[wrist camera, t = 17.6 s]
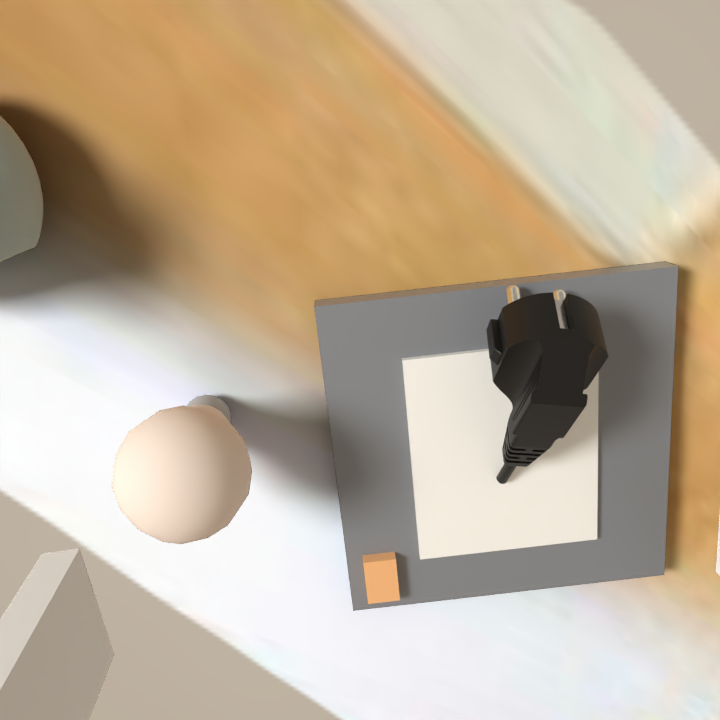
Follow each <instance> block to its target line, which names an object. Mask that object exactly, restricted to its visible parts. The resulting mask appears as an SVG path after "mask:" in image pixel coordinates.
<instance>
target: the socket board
mask: <svg viewBox="0 0 720 720" xmlns="http://www.w3.org/2000/svg"><path fill="white" fill-rule="evenodd" d="M677 284H678V266H676V265H673V264H671V263H668V262H666V261H665V262H656V263H647V264H638V265H629V266H620V267H611V268H602V269H593V270H584V271H575V272H566V273H557V274H548V275H539V276H530V277H521V278H512V279H503V280H494V281H485V282H476V283H467V284H458V285H449V286H440V287H431V288H422V289H413V290H404V291H395V292H386V293H377V294H368V295H359V296H350V297H341V298H332V299H323V300H315V306H314V307H315V315H316V323H317V331H318V339H319V346H320V354H321V362H322V370H323V378H324V385H325V393H326V401H327V409H328V417H329V424H330V432H331V440H332V448H333V456H334V463H335V471H336V479H337V487H338V495H339V502H340V510H341V518H342V526H343V534H344V541H345V549H346V557H347V565H348V573H349V580H350V588H351V596H352V604H353V611H355V610H363V609H372V608H381V607H389V606H398V605H407V604H416V603H424V602H433V601H442V600H450V599H459V598H468V597H476V596H485V595H494V594H502V593H511V592H520V591H528V590H537V589H546V588H554V587H563V586H572V585H581V584H589V583H598V582H607V581H615V580H624V579H633V578H641V577H650V576H659V575H664V569H665V547H666V525H667V503H668V481H669V459H670V437H671V415H672V393H673V372H674V350H675V328H676V306H677ZM511 285H515V286H517V287H518V288H519V289H520V294H521V298H523V297H526V296H529V295H534V294H539V293H550V292H554V291H555V290H557V289H562V290H564V291H565V292H566V295H567V294H572V295H576V296H578V297H581V298H583V299H585V300H587V301H588V302H590V303H591V304H592V305H593V306H594V307H595V309H596V310H597V312H598V315H599V319H600V323H601V327H602V331H603V335H604V340H605V344H606V348H607V352H608V356H609V357H608V358H607V360H606V361H605V363H604V364H603V366H602V367H601V369H600V370H599V372H598V373H597V375H596V376H595V378H594V379H593V380H592V382H591V383H590V385H589V386H588V388H587V389H585V390H583V394H587V395H588V399H587V405H586V407H585V408H584V410H583V411H582V412H581V414H580V415H579V417H578V418H577V420H576V421H575V422H574V424H573V425H572V427H571V428H570V430H569V431H568V432H567V434H566V435H565V437H564V438H558V439H557V440H555V442H554V443H553V445H552V446H551V448H550V449H548V450H547V451H546V452H545V453H543V454H542V455H541V456H540V457H538V458H537V459H536V460H535V461H533V462H532V463H531V464H530V465H529V466H527V467H521V466H516V468H515V470H514V471H513V473H512V474H511V476H510V478H509V479H508V481H507V482H506V483H505V484H500V483H499V482H498V481H497V479H496V477H497V475H498V473H499V472H500V470H501V468H502V467H503V465H504V461H503V453H502V447H503V444H504V438H505V433H506V429H507V424H508V419H509V416H510V413H511V412H512V409H513V406H512V403H511V401H510V400H509V399H508V397H507V396H506V395H505V394H504V393H503V392H502V391H500V390H499V389H498V387H497V386H496V385H495V384H494V382H493V378H492V369H491V360H490V358H489V349H488V340H487V331H486V329H487V327H488V324H489V322H490V319H497V320H498V317H499V315H500V312H501V310H502V308H503V307H504V306H506V305H507V300H506V293H505V292H506V289H507V287H509V286H511Z"/></svg>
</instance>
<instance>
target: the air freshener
mask: <svg viewBox="0 0 720 720" xmlns="http://www.w3.org/2000/svg"><path fill="white" fill-rule="evenodd" d="M42 221H43V195H42V190H41V184H40V179H39V177H38V174H37V171H36V168H35V165H34V162H33V160H32V158H31V157H30V155H29V153H28V151H27V149H26V147H25V145H24V144H23V142H22V141H21V139H20V138H19V137H18V135H17V134H16V133H15V131H14V130H13V128H12V127H11V126H10V125H9V124H8V123H7V122H6V121H5V120H4V119H3V118H2V117H1V116H0V262H1V261H3V260H5V259H8V258H10V257H13V256H15V255H17V254H20V253H22V252H25V251H27V250H29V249H32V248H34V247H36V245H37V243H38V240H39V237H40V234H41V228H42Z"/></svg>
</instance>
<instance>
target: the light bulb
mask: <svg viewBox="0 0 720 720" xmlns="http://www.w3.org/2000/svg"><path fill="white" fill-rule="evenodd" d="M251 475H252V468H251V462H250V458H249V455H248V451H247V448H246V445H245V441H244V439H243V438H242V437H241V436H240V434H239V433H238V432H237V431H236V429H235V428H234V427H233V426H232V425H231V413H230V410H229V407H228V406H227V405H226V404H225V403H224V401H222V400H221V399H219V398H217V397H215V396H209V395H204V396H199V397H196V398H195V399H193V400H192V401H190V402H189V403H188V405H187V406H178V407H174V408H169V409H164V410H160V411H158V412H157V413H155V414H154V415H152V416H151V417H149V418H148V419H146V420H145V421H144V422H142V423H141V424H139V425H138V426H136V427H135V428H133V429H132V430H130V431H129V432H128V434H127V436H126V438H125V439H124V441H123V443H122V445H121V446H120V448H119V450H118V451H117V453H116V458H115V463H114V469H113V482H112V489H113V492H114V494H115V497H116V500H117V503H118V505H119V508H120V510H121V511H122V512H123V513H124V515H125V516H126V517H127V518H128V519H129V520H130V521H131V522H132V523H133V524H134V526H135V527H136V528H137V529H138V530H140V531H141V532H143V533H146V534H148V535H150V536H152V537H154V538H156V539H158V540H160V541H162V542H168V543H176V544H184V543H188V542H192V541H197V540H201V539H205V538H208V537H210V536H212V535H213V534H215V533H216V532H218V531H219V530H221V529H223V528H224V527H226V526H227V525H228V524H229V523H230V521H231V520H232V518H233V517H234V516H235V514H236V513H237V511H238V510H239V508H240V507H241V505H242V504H243V502H244V500H245V499H246V497H247V496H248V494H249V489H250V482H251Z"/></svg>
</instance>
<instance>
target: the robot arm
mask: <svg viewBox="0 0 720 720" xmlns="http://www.w3.org/2000/svg"><path fill="white" fill-rule="evenodd" d="M716 572H717V574H718V575H719V576H720V517H719V532H718V547H717V562H716ZM113 656H114V652H113V649H112V646H111V643H110V640H109V637H108V634H107V631H106V628H105V625H104V621H103V618H102V615H101V612H100V609H99V606H98V603H97V600H96V597H95V594H94V591H93V588H92V585H91V582H90V579H89V576H88V573H87V570H86V567H85V563H84V560H83V557H82V554H81V551H80V549H71V550H64V551H57V552H50V553H43V554H41V556H40V558H39V559H38V561H37V562H36V564H35V565H34V567H33V569H32V570H31V572H30V573H29V575H28V576H27V578H26V579H25V581H24V583H23V584H22V586H21V587H20V589H19V590H18V592H17V594H16V595H15V597H14V598H13V600H12V602H11V603H10V605H9V606H8V608H7V609H6V611H5V612H4V614H3V616H2V617H1V619H0V720H89V718H90V716H91V713H92V710H93V708H94V705H95V703H96V700H97V698H98V695H99V692H100V690H101V687H102V685H103V682H104V680H105V677H106V674H107V672H108V669H109V666H110V664H111V662H112V659H113Z"/></svg>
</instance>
